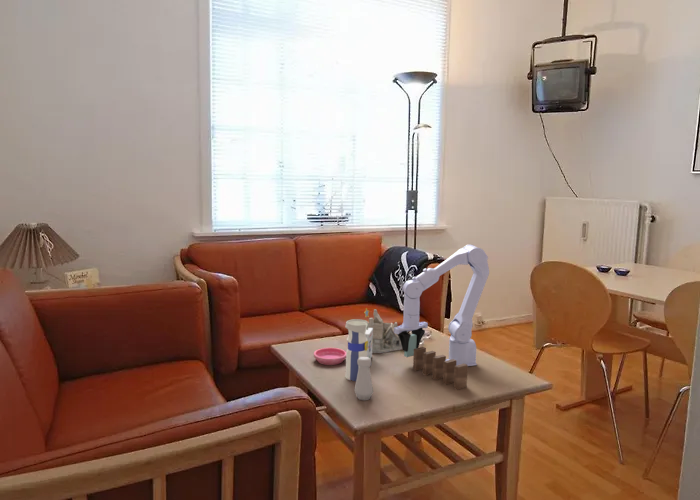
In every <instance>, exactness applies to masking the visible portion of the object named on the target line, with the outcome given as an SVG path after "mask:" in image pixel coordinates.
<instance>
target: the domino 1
mask: <svg viewBox="0 0 700 500" xmlns="http://www.w3.org/2000/svg"><path fill="white" fill-rule="evenodd" d="M410 335H411V336H410V339H409V345H408V352H405V351H403V353H404V354H403V357H406V358H409V357H414V349H416V344H417V335H415V334H412V333H411V334H410Z"/></svg>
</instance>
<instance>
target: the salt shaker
mask: <svg viewBox="0 0 700 500" xmlns="http://www.w3.org/2000/svg"><path fill="white" fill-rule="evenodd" d="M357 364H358V366H359V369H358V374H357V380H356V381H355V386H354V393H355V395H356V398H357V399H358V400H359V401H368V400H370V399H371V397H372V395H373V394H374V388H373V381H372V376H371V369H370V366H371V365H372V358H371V359H370V358H369V357H360V358H358V360H357Z"/></svg>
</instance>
